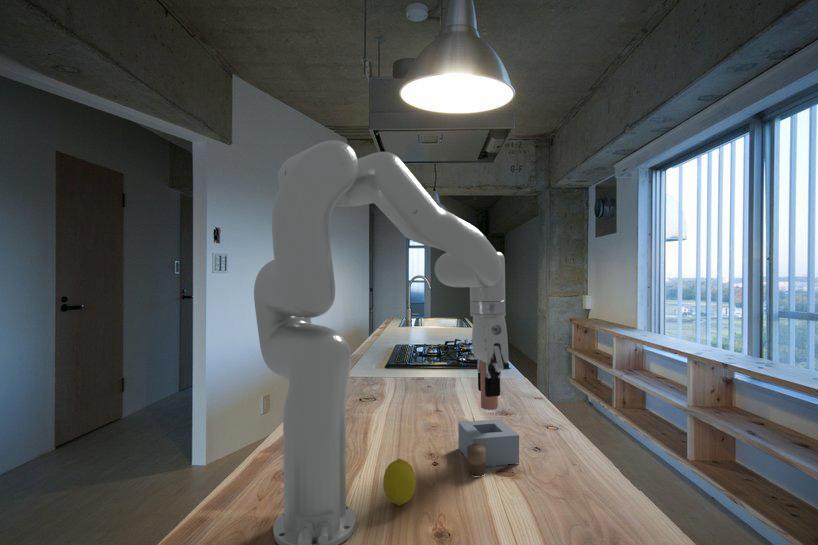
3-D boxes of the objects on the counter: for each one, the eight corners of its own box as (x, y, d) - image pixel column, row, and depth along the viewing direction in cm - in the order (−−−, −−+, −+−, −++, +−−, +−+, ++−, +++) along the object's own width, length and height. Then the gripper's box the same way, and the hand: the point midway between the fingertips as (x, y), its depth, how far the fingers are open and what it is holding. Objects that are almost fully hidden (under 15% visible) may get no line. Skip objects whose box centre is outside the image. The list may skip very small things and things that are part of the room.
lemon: (397, 493, 79) (397, 449, 79) (422, 504, 75) (422, 458, 75) (376, 506, 74) (376, 460, 74) (401, 518, 71) (401, 469, 71)
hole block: (519, 464, 91) (519, 435, 91) (473, 468, 89) (473, 438, 89) (500, 445, 100) (500, 419, 100) (458, 448, 99) (458, 421, 98)
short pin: (488, 476, 85) (488, 450, 85) (470, 478, 85) (470, 452, 85) (481, 468, 89) (481, 443, 89) (464, 469, 88) (464, 445, 88)
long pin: (500, 409, 93) (499, 357, 93) (484, 410, 93) (483, 358, 93) (494, 403, 97) (493, 354, 97) (478, 405, 96) (477, 355, 96)
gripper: (520, 312, 87) (521, 403, 87) (490, 304, 103) (491, 382, 104) (484, 313, 86) (486, 406, 86) (459, 306, 102) (460, 384, 102)
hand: (488, 392), depth 95 cm, fingers closed on long pin, 3 cm apart
